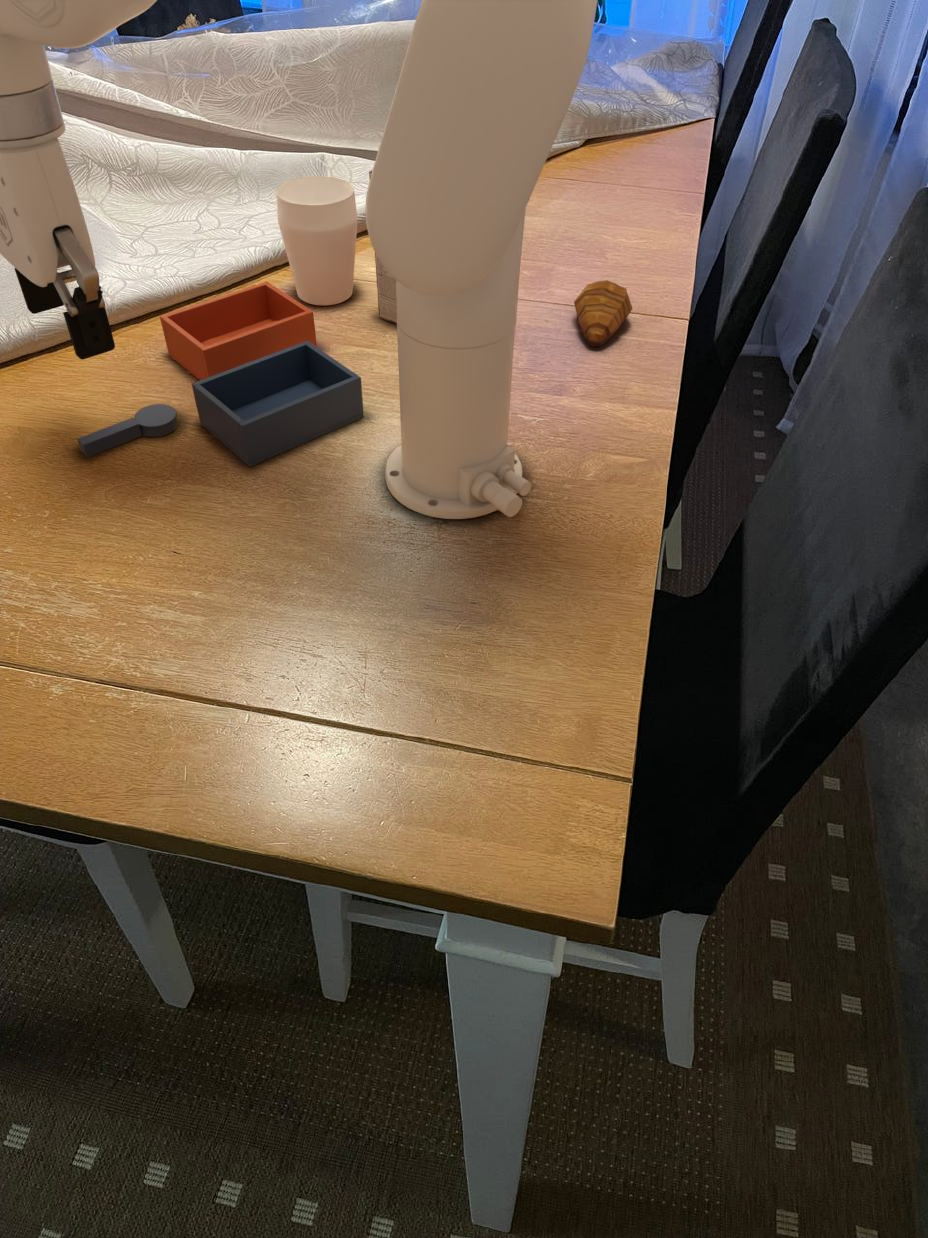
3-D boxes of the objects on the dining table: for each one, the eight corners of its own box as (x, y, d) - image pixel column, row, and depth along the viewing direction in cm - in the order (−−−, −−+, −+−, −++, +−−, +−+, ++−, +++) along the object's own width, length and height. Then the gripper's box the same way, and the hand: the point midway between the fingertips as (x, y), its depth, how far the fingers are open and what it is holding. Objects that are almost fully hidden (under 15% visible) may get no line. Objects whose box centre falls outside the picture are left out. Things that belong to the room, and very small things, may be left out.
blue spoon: (93, 463, 82) (89, 451, 81) (75, 444, 84) (70, 432, 83) (186, 427, 86) (183, 414, 85) (166, 409, 88) (163, 397, 87)
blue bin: (363, 417, 88) (361, 377, 85) (249, 467, 82) (242, 425, 78) (311, 379, 93) (307, 340, 89) (200, 424, 86) (191, 383, 83)
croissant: (625, 354, 98) (632, 312, 94) (564, 347, 99) (569, 305, 95) (633, 300, 107) (640, 259, 103) (578, 293, 108) (583, 253, 104)
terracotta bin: (317, 349, 97) (313, 311, 94) (211, 390, 91) (203, 350, 88) (272, 318, 102) (266, 281, 98) (168, 355, 96) (159, 316, 92)
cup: (331, 318, 102) (321, 212, 93) (272, 297, 105) (257, 193, 97) (377, 289, 107) (371, 186, 99) (319, 270, 111) (309, 169, 102)
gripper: (-90, 87, 66) (-11, 304, 78) (-1, 155, 57) (72, 387, 70) (9, 72, 70) (70, 281, 82) (107, 134, 61) (159, 358, 73)
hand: (71, 330), depth 76 cm, fingers open, 9 cm apart
